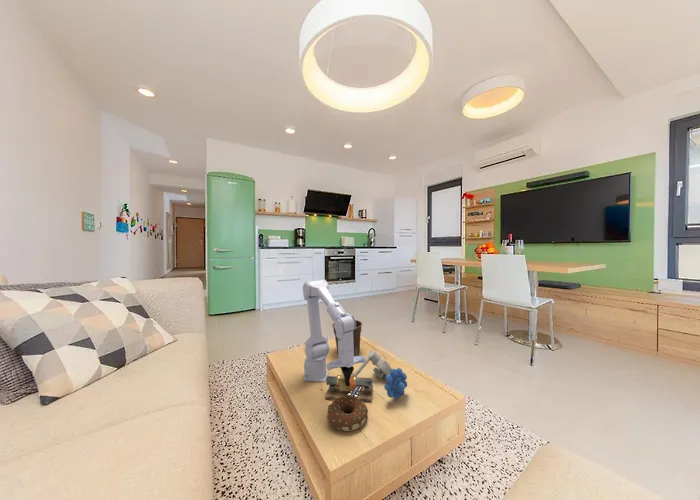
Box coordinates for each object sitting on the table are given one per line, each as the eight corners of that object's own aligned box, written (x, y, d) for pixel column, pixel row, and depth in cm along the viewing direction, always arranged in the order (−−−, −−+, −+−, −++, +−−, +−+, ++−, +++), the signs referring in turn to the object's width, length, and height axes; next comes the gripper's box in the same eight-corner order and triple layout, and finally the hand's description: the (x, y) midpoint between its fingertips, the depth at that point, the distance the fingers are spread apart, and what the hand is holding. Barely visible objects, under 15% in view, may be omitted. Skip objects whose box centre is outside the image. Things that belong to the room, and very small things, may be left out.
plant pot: (331, 348, 142) (330, 320, 142) (359, 345, 145) (358, 317, 145) (335, 362, 126) (334, 330, 126) (366, 358, 129) (365, 327, 129)
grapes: (394, 411, 89) (393, 378, 89) (381, 401, 95) (379, 370, 94) (415, 397, 96) (414, 367, 96) (402, 389, 102) (401, 360, 101)
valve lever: (343, 374, 101) (342, 369, 101) (348, 373, 102) (348, 368, 102) (349, 390, 90) (349, 384, 90) (356, 388, 91) (356, 383, 91)
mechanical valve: (400, 374, 108) (377, 351, 105) (372, 409, 104) (348, 386, 101) (389, 365, 118) (368, 343, 115) (363, 396, 114) (341, 375, 111)
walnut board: (325, 399, 97) (325, 396, 97) (330, 386, 106) (330, 383, 106) (371, 402, 95) (371, 399, 95) (372, 388, 104) (372, 385, 103)
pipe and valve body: (326, 393, 99) (325, 377, 99) (329, 386, 104) (328, 371, 104) (371, 395, 97) (371, 379, 96) (372, 388, 101) (372, 373, 101)
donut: (355, 401, 96) (354, 388, 96) (375, 424, 84) (374, 410, 83) (320, 415, 89) (319, 401, 89) (336, 442, 77) (335, 426, 77)
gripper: (329, 357, 86) (331, 395, 87) (368, 349, 91) (369, 385, 92) (324, 348, 93) (326, 384, 94) (360, 342, 98) (362, 376, 98)
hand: (347, 384), depth 93 cm, fingers closed, pressing on valve lever
